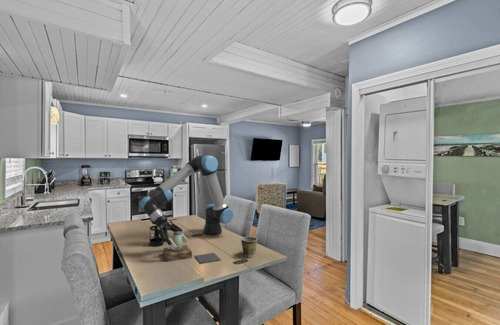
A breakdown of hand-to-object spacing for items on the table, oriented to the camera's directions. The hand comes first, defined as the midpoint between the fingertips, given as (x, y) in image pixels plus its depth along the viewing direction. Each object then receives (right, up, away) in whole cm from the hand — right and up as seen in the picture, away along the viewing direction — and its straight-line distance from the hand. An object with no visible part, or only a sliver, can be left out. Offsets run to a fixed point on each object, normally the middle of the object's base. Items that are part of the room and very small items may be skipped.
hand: (180, 244), depth 152 cm
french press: (-22, -7, +21) cm, 31 cm away
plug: (-2, -7, 0) cm, 7 cm away
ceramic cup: (+41, -8, +5) cm, 42 cm away
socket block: (-2, -7, 0) cm, 7 cm away
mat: (+17, -7, -3) cm, 18 cm away
